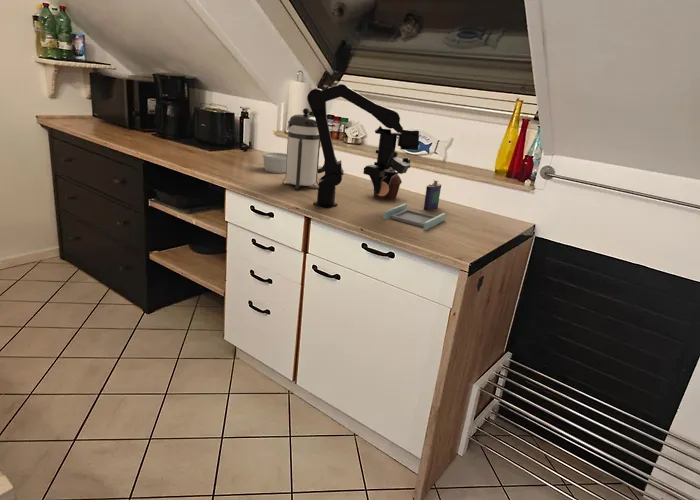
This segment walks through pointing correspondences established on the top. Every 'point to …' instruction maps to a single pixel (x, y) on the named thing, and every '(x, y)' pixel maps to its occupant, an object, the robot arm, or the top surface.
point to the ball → (384, 189)
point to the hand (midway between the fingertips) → (381, 192)
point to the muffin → (391, 188)
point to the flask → (432, 196)
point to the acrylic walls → (427, 224)
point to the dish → (412, 217)
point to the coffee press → (303, 151)
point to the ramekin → (275, 162)
